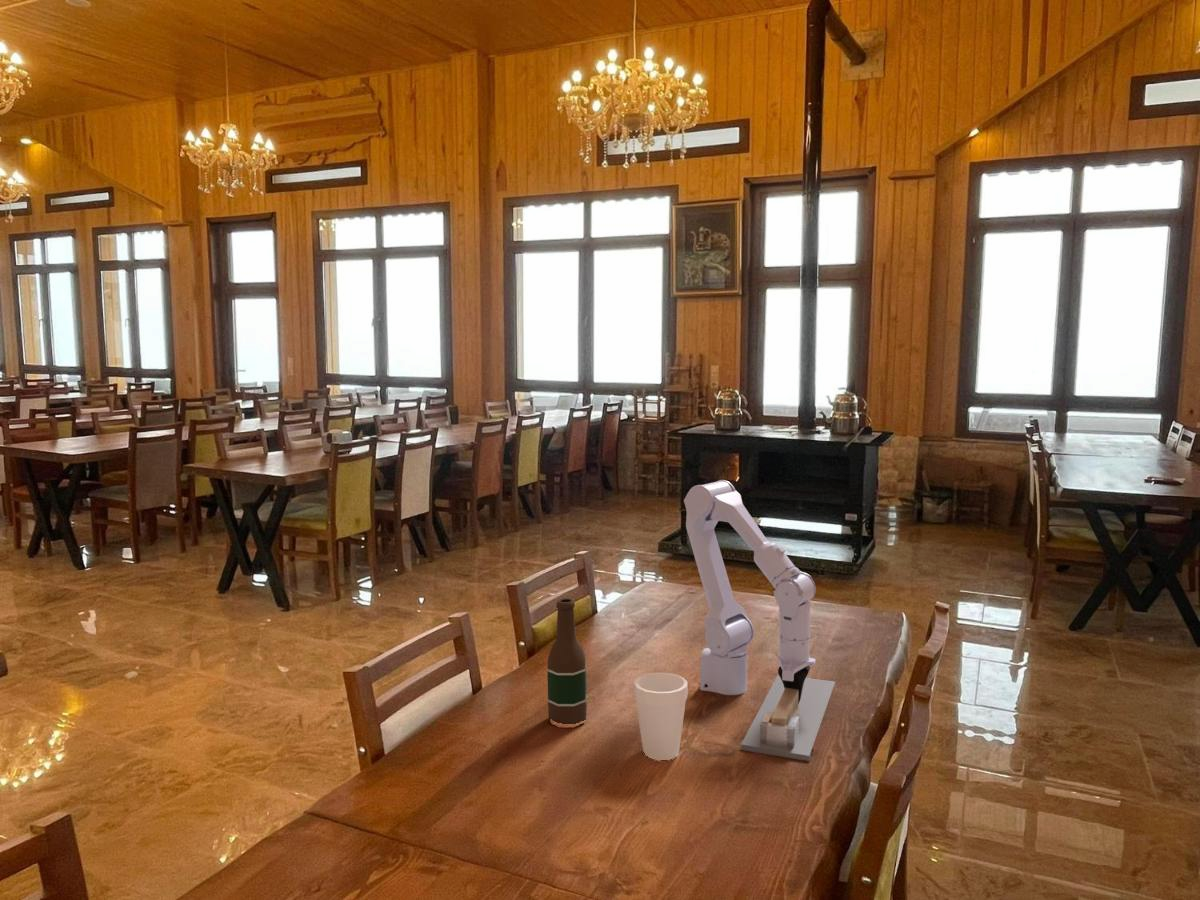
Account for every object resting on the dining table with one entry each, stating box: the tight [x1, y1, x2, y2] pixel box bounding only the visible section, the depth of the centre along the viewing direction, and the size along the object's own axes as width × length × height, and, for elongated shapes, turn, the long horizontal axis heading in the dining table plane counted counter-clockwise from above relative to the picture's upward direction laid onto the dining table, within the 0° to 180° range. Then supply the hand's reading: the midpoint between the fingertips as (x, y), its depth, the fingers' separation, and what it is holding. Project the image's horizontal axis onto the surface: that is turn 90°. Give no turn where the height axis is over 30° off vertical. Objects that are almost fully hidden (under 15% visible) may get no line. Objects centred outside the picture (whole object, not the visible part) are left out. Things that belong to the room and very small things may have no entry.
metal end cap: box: [760, 712, 799, 748], centre depth 154 cm, size 6×6×4 cm
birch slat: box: [772, 688, 799, 726], centre depth 159 cm, size 2×14×4 cm, turn 158°
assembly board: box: [740, 673, 836, 762], centre depth 166 cm, size 12×35×1 cm, turn 158°
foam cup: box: [633, 671, 689, 761], centre depth 151 cm, size 10×9×13 cm
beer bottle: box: [546, 598, 588, 724], centre depth 164 cm, size 8×8×24 cm
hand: (793, 703), depth 167 cm, fingers closed
